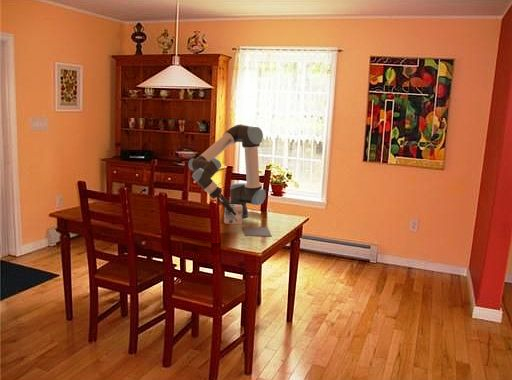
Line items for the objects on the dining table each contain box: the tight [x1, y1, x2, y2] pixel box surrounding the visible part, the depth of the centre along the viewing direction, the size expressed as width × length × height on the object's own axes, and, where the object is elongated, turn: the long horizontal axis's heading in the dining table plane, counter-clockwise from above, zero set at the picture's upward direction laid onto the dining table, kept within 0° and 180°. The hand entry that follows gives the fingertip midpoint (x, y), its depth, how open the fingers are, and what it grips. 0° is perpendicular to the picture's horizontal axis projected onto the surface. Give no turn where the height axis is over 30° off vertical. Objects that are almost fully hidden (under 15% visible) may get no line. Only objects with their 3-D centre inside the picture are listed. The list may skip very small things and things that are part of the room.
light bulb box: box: [223, 204, 243, 225], centre depth 292 cm, size 11×7×11 cm, turn 101°
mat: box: [242, 226, 273, 238], centre depth 296 cm, size 20×16×1 cm
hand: (238, 216), depth 293 cm, fingers closed on light bulb box, 7 cm apart
